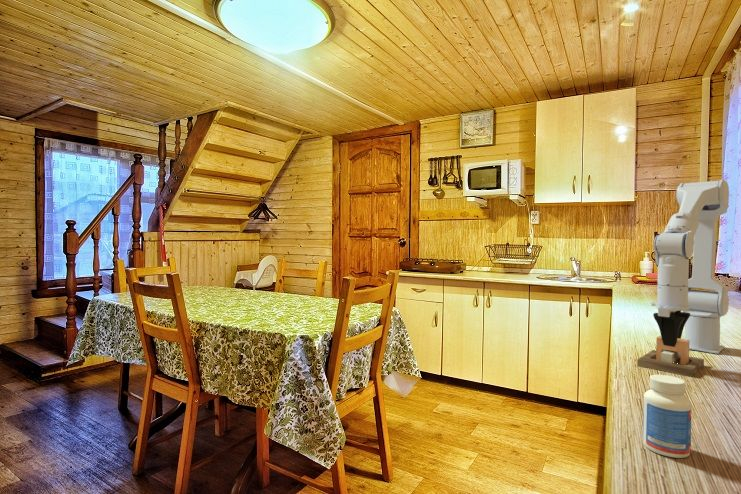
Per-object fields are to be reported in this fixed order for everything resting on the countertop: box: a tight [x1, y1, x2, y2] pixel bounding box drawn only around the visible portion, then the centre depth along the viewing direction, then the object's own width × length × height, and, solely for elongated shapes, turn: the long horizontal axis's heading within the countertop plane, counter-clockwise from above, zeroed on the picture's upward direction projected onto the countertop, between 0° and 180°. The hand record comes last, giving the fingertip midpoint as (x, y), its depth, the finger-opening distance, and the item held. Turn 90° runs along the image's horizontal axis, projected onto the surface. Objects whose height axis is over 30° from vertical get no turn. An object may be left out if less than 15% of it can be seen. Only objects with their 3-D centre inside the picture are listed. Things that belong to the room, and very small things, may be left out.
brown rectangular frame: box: [637, 349, 705, 378], centre depth 95 cm, size 12×10×4 cm
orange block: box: [655, 335, 690, 365], centre depth 95 cm, size 3×6×6 cm, turn 42°
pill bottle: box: [642, 374, 692, 459], centre depth 57 cm, size 6×5×10 cm
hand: (671, 344), depth 95 cm, fingers closed on orange block, 3 cm apart
